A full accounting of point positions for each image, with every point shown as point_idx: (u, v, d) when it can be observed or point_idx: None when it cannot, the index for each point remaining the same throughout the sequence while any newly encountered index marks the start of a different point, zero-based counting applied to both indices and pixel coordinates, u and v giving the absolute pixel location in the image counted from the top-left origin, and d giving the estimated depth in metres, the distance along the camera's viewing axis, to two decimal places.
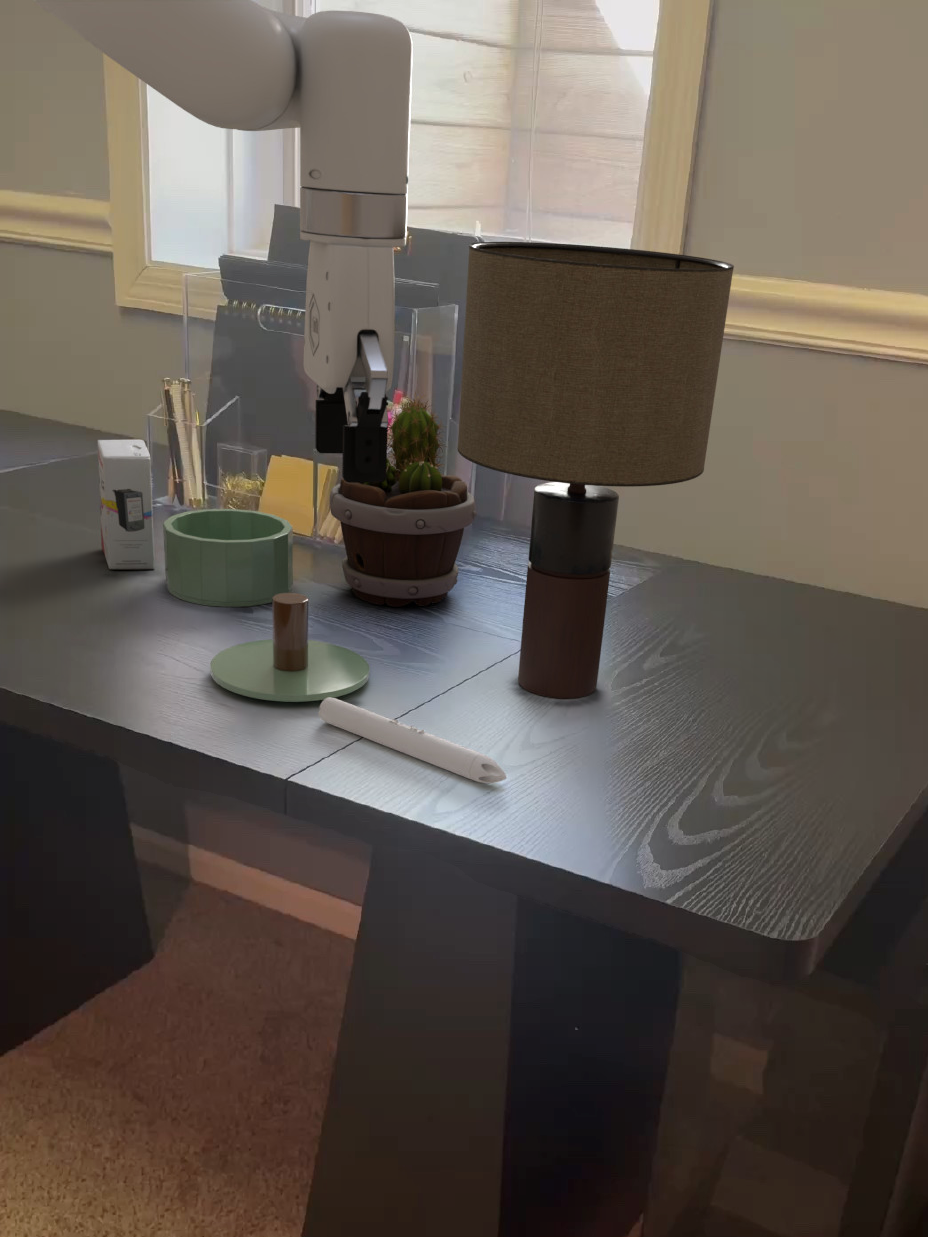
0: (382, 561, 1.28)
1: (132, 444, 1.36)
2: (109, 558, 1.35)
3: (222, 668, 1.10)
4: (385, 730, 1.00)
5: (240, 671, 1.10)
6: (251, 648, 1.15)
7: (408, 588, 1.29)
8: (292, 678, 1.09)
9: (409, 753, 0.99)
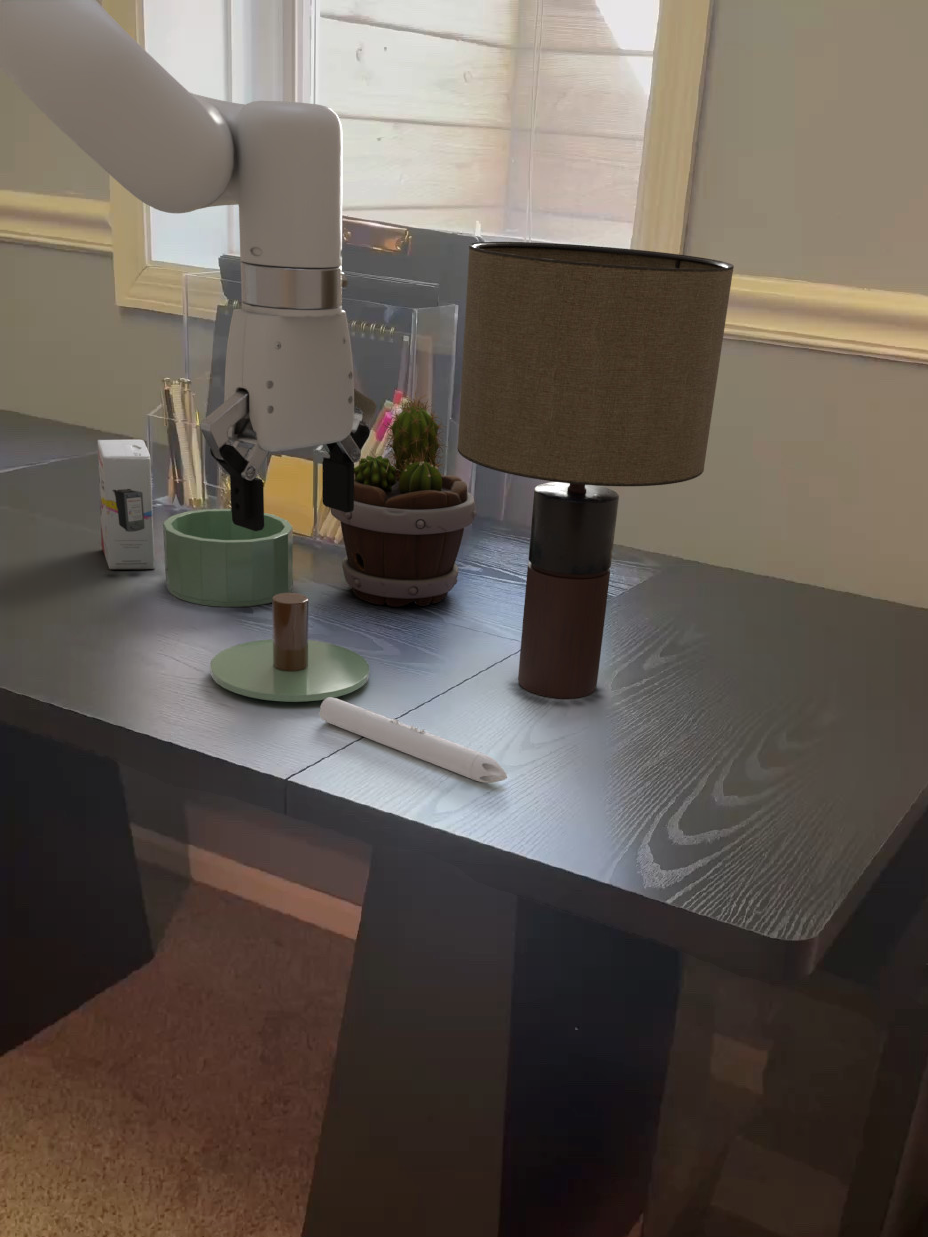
0: (382, 561, 1.28)
1: (132, 444, 1.36)
2: (109, 558, 1.35)
3: (222, 668, 1.10)
4: (386, 730, 1.00)
5: (240, 671, 1.10)
6: (251, 648, 1.15)
7: (408, 588, 1.29)
8: (292, 678, 1.09)
9: (410, 753, 0.99)
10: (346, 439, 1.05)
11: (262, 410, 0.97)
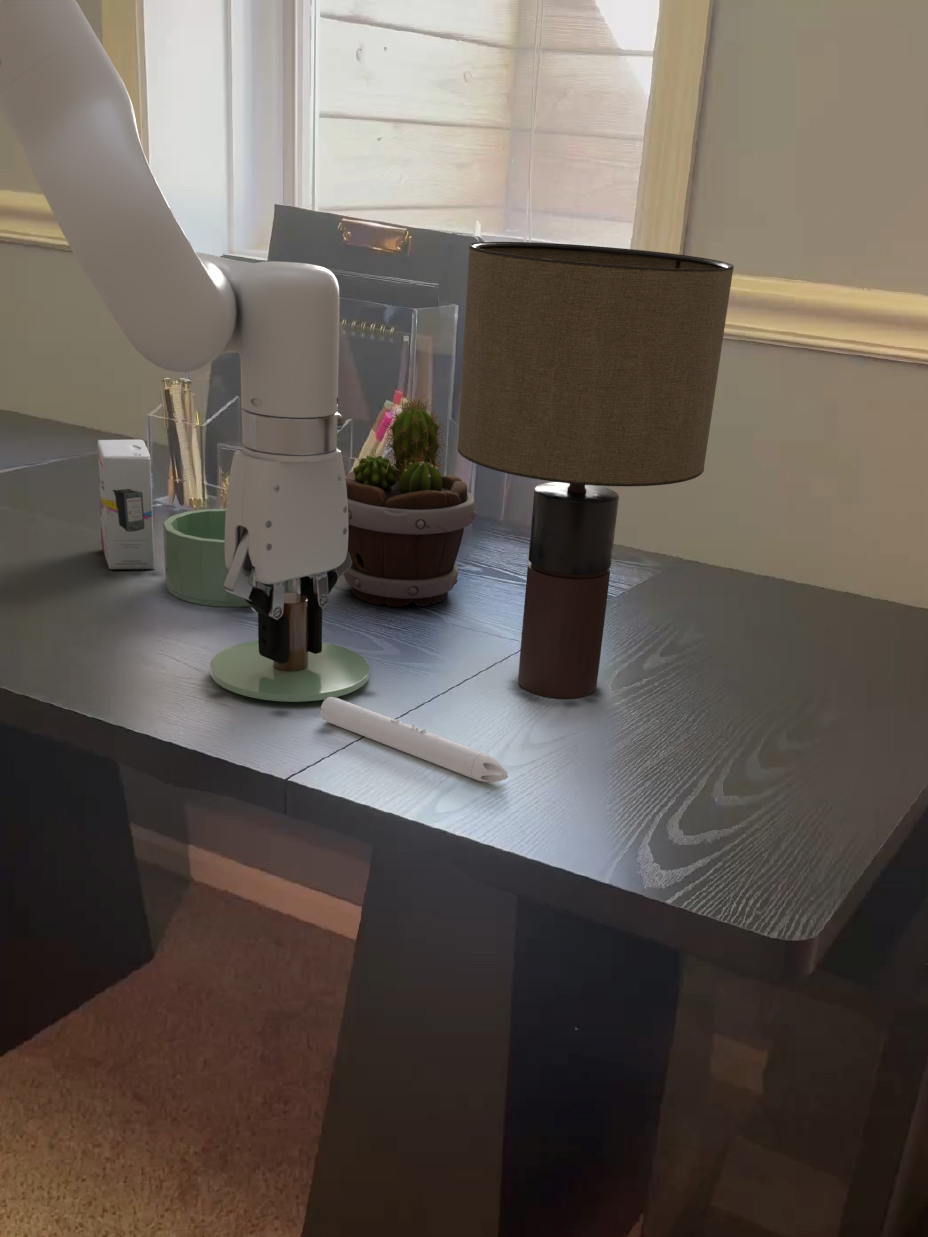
0: (382, 561, 1.28)
1: (132, 444, 1.36)
2: (109, 558, 1.35)
3: (222, 668, 1.10)
4: (386, 729, 1.00)
5: (240, 671, 1.10)
6: (251, 648, 1.15)
7: (408, 588, 1.29)
8: (292, 678, 1.09)
9: (411, 752, 0.99)
10: (323, 580, 1.09)
11: (261, 548, 1.02)
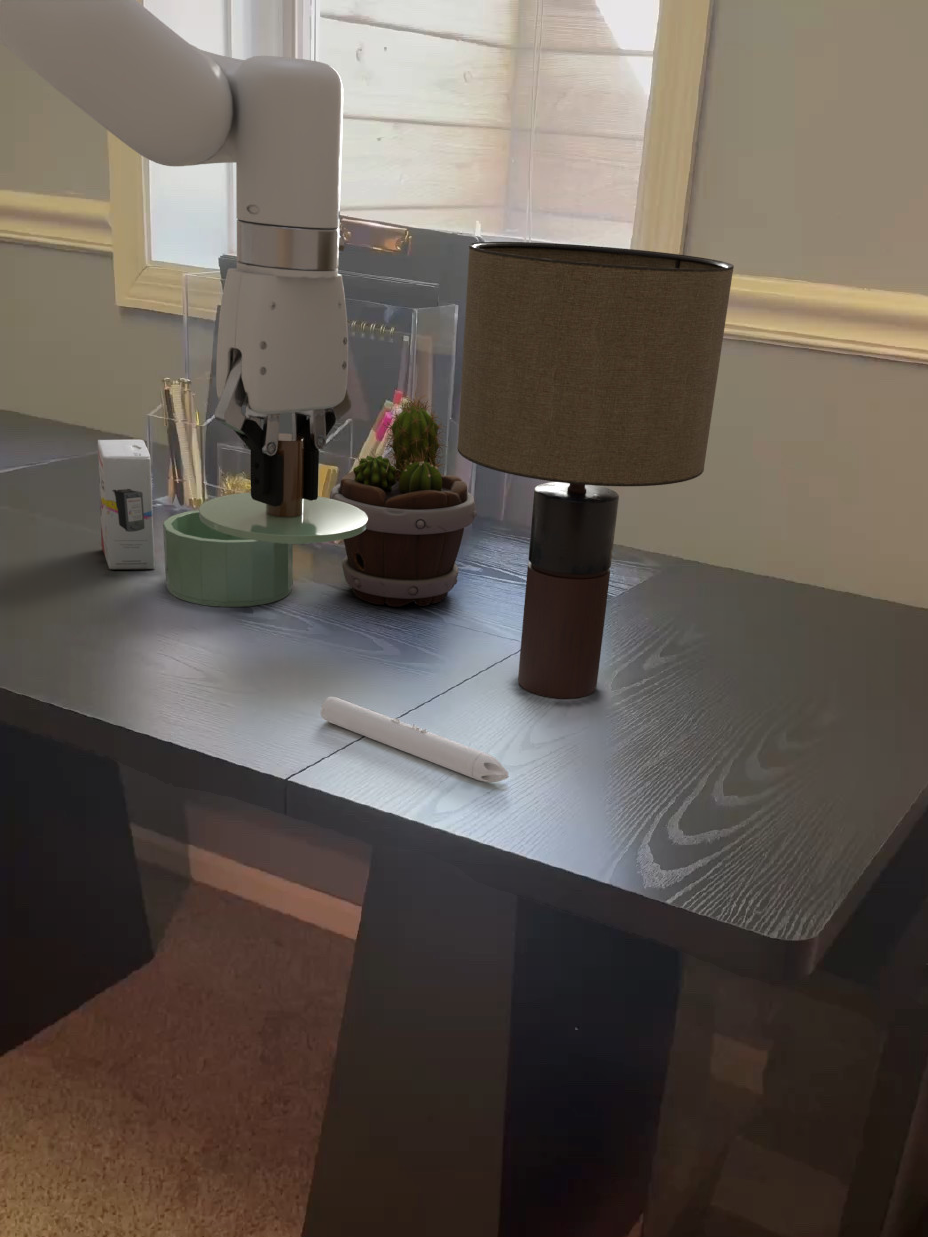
0: (382, 561, 1.28)
1: (132, 444, 1.36)
2: (109, 558, 1.35)
3: (212, 512, 1.04)
4: (387, 729, 1.00)
5: (231, 514, 1.04)
6: (243, 497, 1.09)
7: (408, 588, 1.29)
8: (285, 522, 1.03)
9: (411, 752, 0.99)
10: (320, 419, 1.03)
11: (254, 371, 0.96)
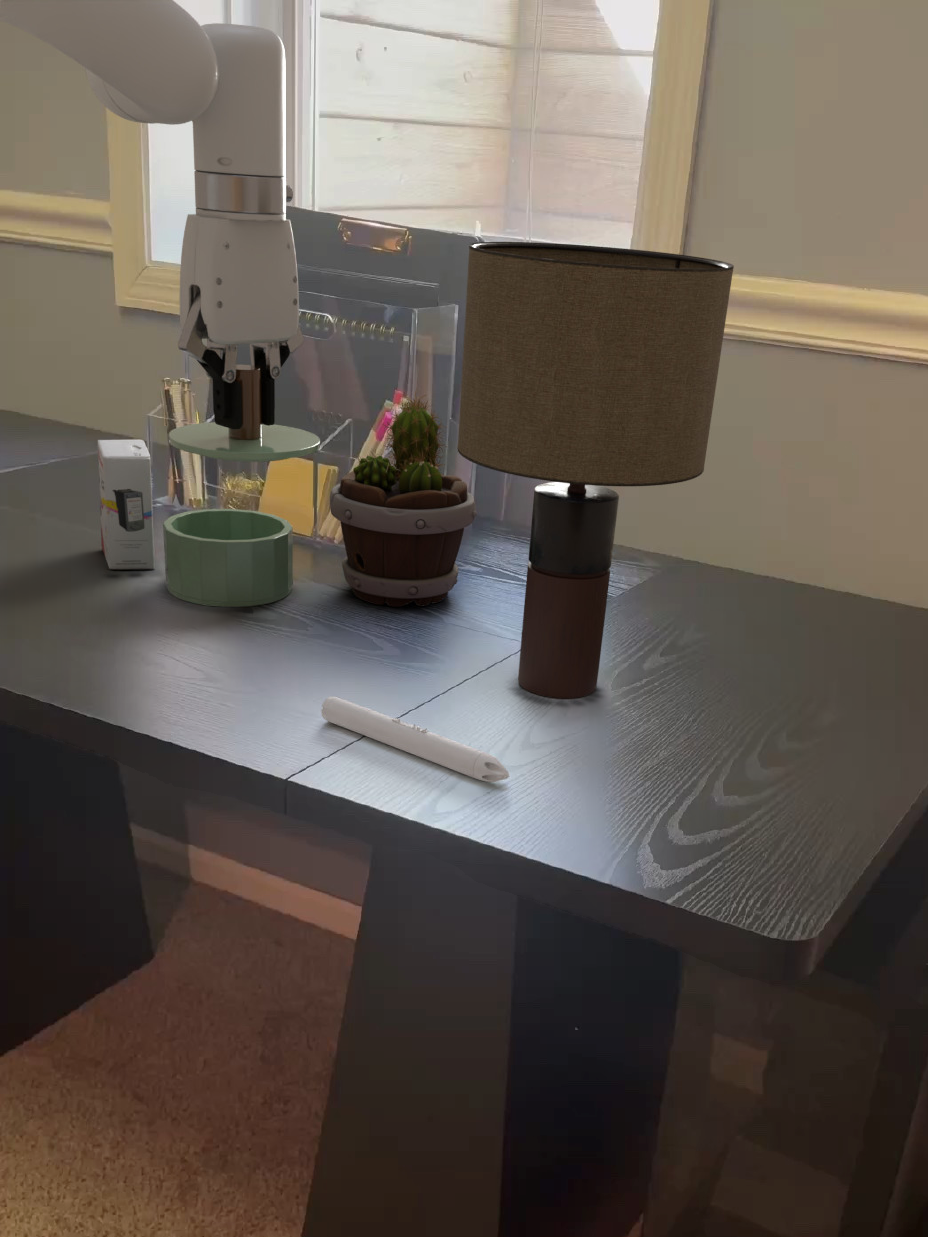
0: (382, 561, 1.28)
1: (132, 444, 1.36)
2: (109, 558, 1.35)
3: (179, 435, 1.17)
4: (388, 729, 1.00)
5: (196, 437, 1.16)
6: (210, 425, 1.21)
7: (408, 588, 1.29)
8: (245, 443, 1.16)
9: (412, 752, 0.99)
10: (274, 351, 1.16)
11: (212, 305, 1.09)
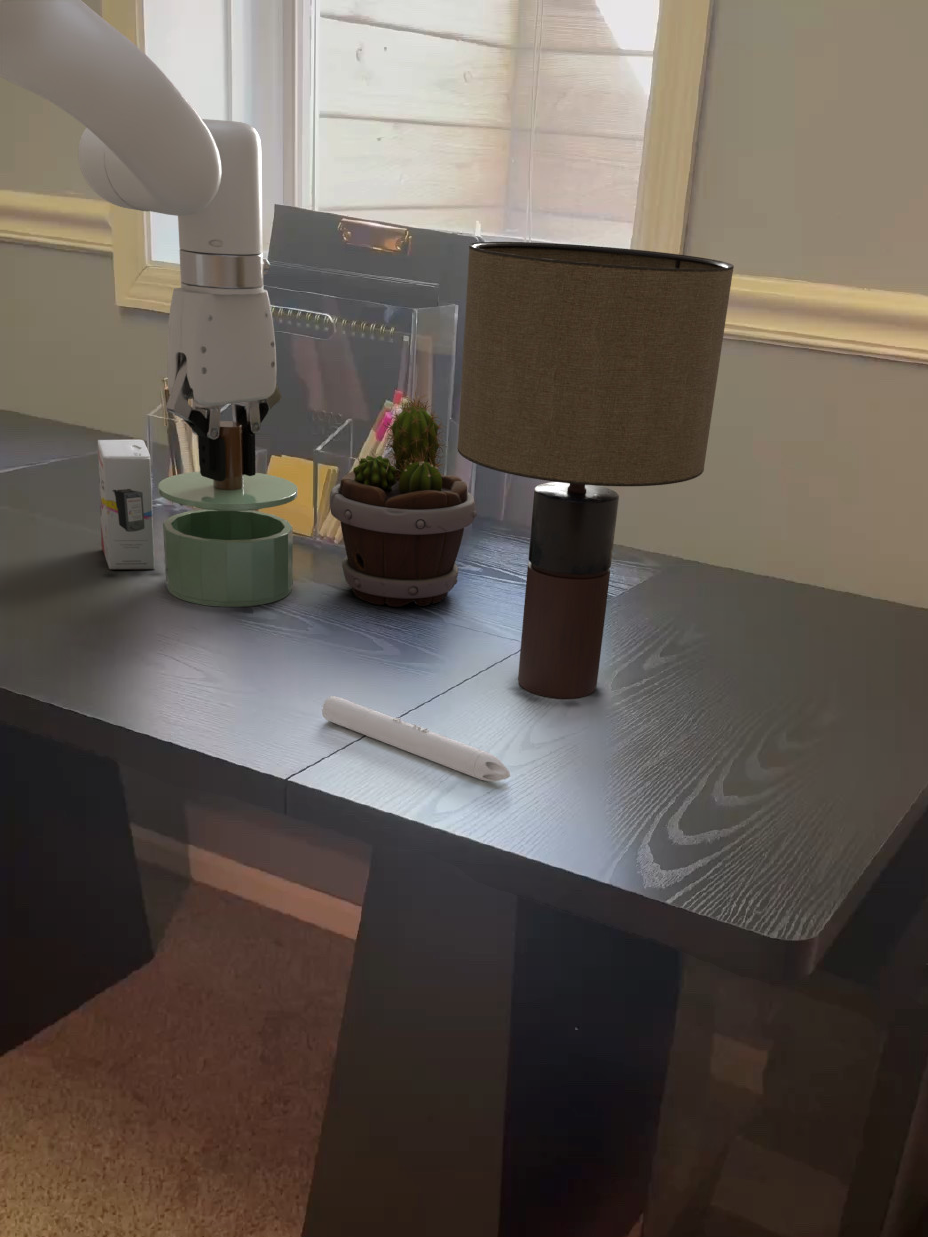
0: (382, 561, 1.28)
1: (132, 444, 1.36)
2: (109, 558, 1.35)
3: (168, 486, 1.27)
4: (389, 728, 1.00)
5: (184, 488, 1.27)
6: (196, 475, 1.32)
7: (408, 588, 1.29)
8: (228, 493, 1.26)
9: (413, 751, 1.00)
10: (254, 409, 1.26)
11: (197, 371, 1.19)
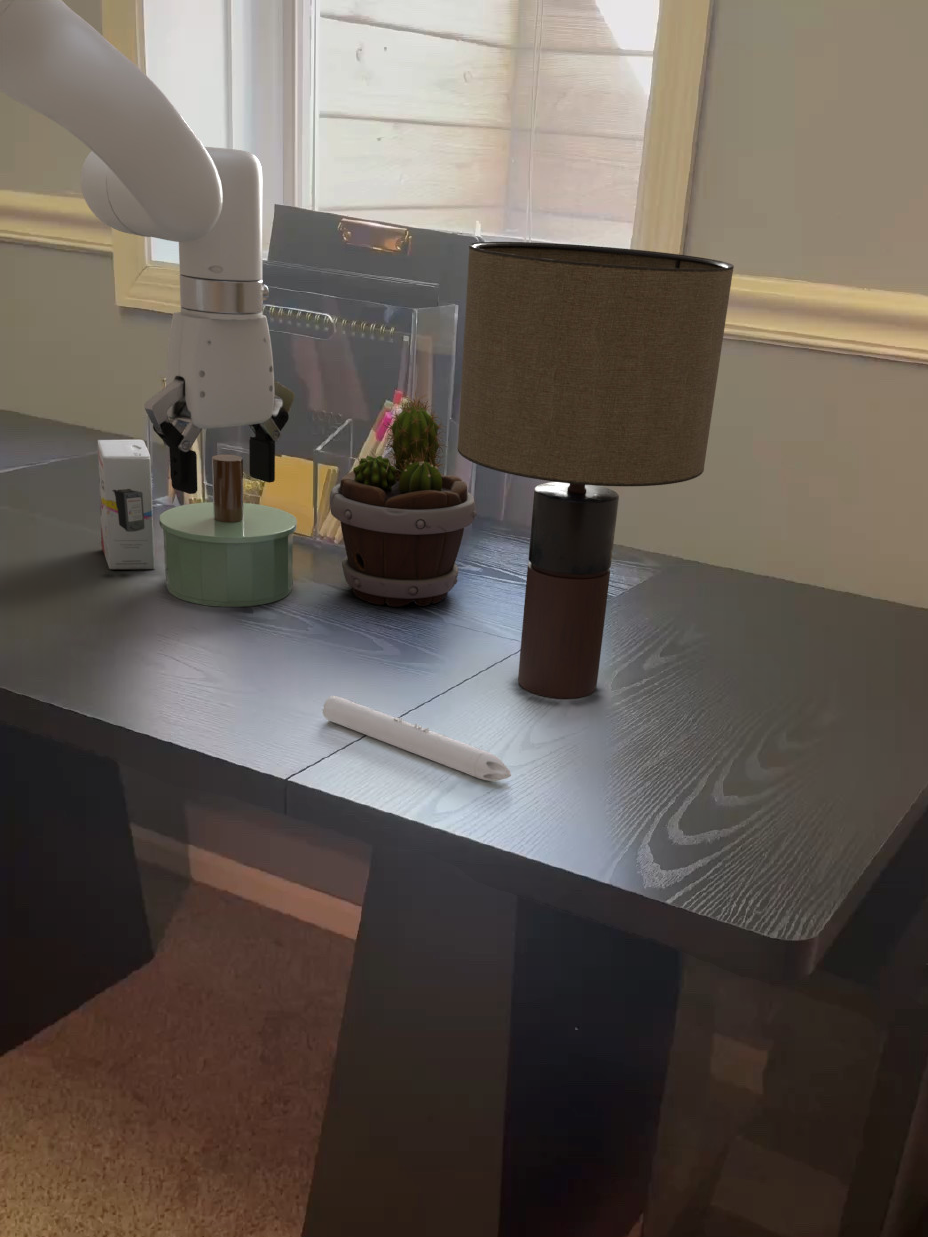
0: (382, 561, 1.28)
1: (132, 444, 1.36)
2: (109, 558, 1.35)
3: (169, 519, 1.29)
4: (389, 728, 1.00)
5: (185, 521, 1.28)
6: (196, 507, 1.33)
7: (408, 588, 1.29)
8: (229, 526, 1.28)
9: (413, 751, 1.00)
10: (268, 421, 1.28)
11: (195, 394, 1.20)
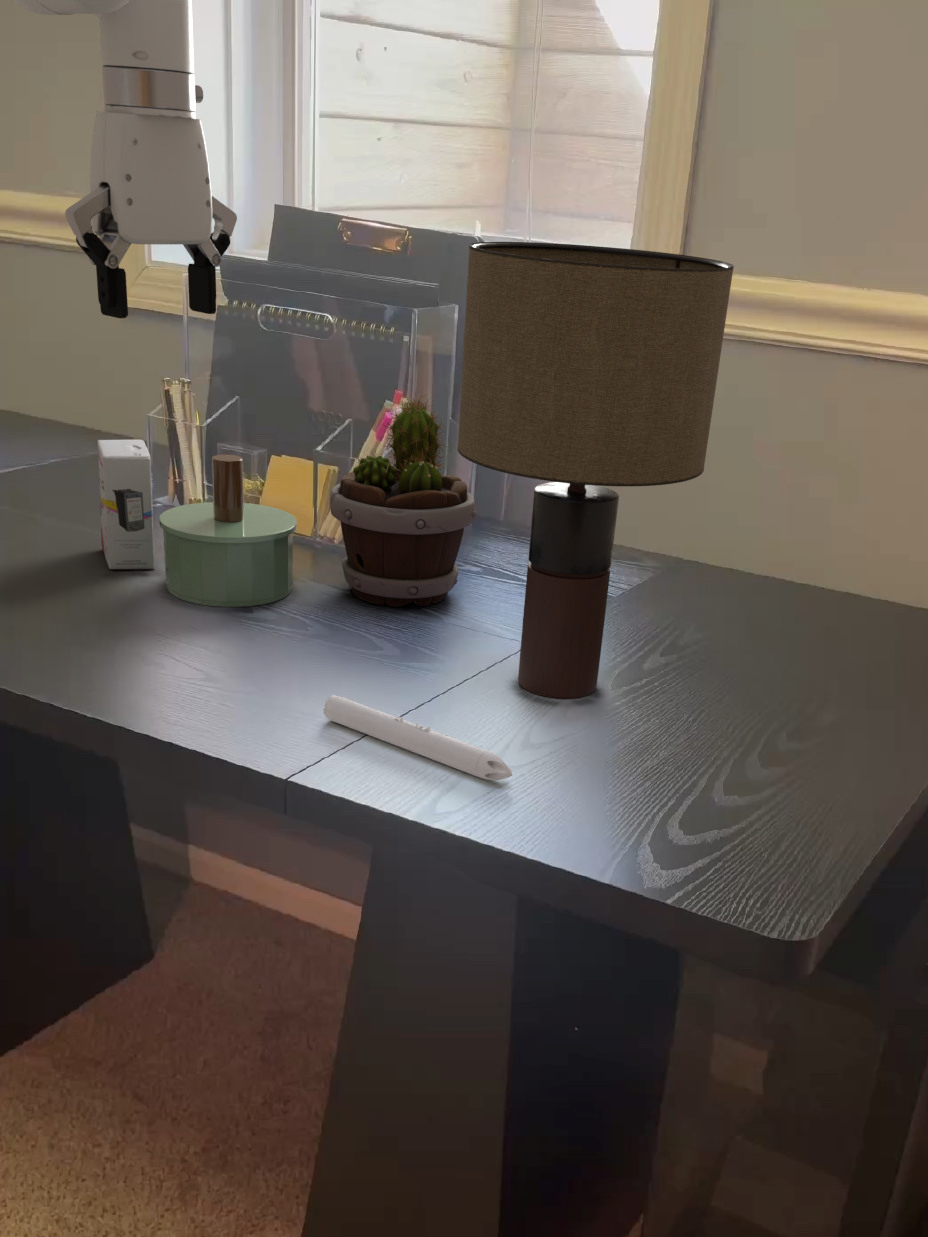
0: (382, 561, 1.28)
1: (132, 444, 1.36)
2: (109, 558, 1.35)
3: (169, 519, 1.29)
4: (390, 728, 1.00)
5: (185, 521, 1.28)
6: (196, 507, 1.33)
7: (408, 588, 1.29)
8: (229, 526, 1.28)
9: (415, 751, 1.00)
10: (206, 243, 1.17)
11: (121, 201, 1.09)
